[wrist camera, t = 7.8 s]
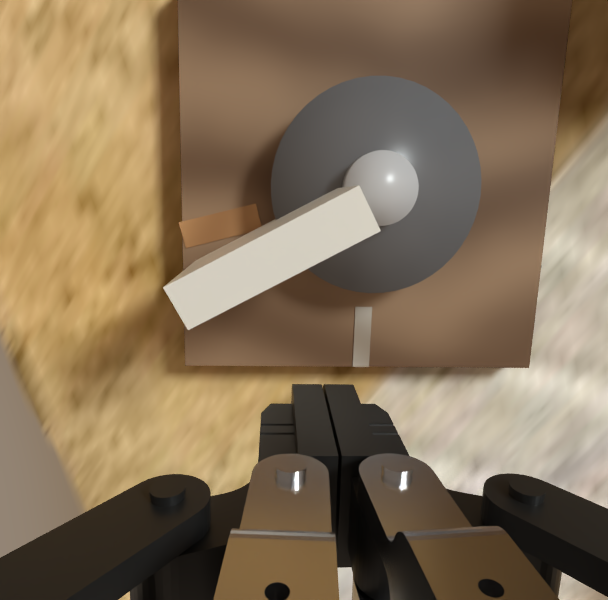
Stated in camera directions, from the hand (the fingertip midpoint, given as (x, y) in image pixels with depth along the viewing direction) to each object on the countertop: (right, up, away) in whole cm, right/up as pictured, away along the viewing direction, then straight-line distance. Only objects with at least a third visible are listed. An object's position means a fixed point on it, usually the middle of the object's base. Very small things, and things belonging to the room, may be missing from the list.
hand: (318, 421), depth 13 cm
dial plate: (+3, +8, +12) cm, 15 cm away
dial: (+1, +7, +10) cm, 13 cm away
